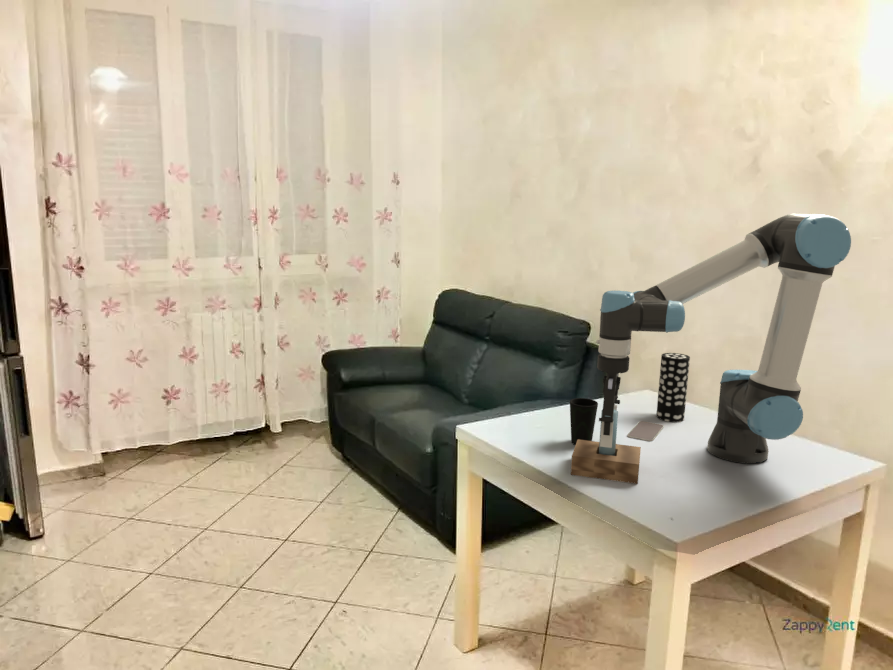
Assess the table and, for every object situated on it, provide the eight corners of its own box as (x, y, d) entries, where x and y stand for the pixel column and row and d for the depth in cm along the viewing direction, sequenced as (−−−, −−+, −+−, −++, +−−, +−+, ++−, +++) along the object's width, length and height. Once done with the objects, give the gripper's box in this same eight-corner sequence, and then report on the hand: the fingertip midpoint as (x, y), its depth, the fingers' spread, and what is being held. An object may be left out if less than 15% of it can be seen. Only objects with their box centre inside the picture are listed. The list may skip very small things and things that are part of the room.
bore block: (639, 465, 171) (640, 447, 170) (637, 484, 159) (639, 464, 158) (576, 457, 175) (577, 439, 174) (570, 474, 164) (571, 455, 163)
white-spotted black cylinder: (686, 416, 210) (692, 355, 206) (680, 424, 203) (686, 360, 199) (660, 411, 214) (665, 351, 210) (653, 418, 207) (658, 356, 203)
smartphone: (626, 435, 191) (640, 420, 204) (625, 438, 191) (639, 423, 204) (652, 440, 187) (664, 425, 200) (651, 443, 188) (664, 427, 200)
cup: (595, 449, 181) (598, 407, 179) (567, 446, 183) (569, 405, 180) (595, 439, 189) (597, 399, 186) (567, 437, 190) (570, 397, 188)
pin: (614, 462, 168) (618, 409, 166) (613, 468, 165) (617, 414, 162) (598, 460, 170) (602, 408, 167) (597, 466, 166) (600, 412, 163)
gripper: (602, 343, 174) (597, 420, 178) (593, 365, 151) (587, 453, 155) (631, 345, 172) (625, 423, 176) (627, 368, 149) (620, 457, 153)
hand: (607, 437), depth 166 cm, fingers open, 13 cm apart
